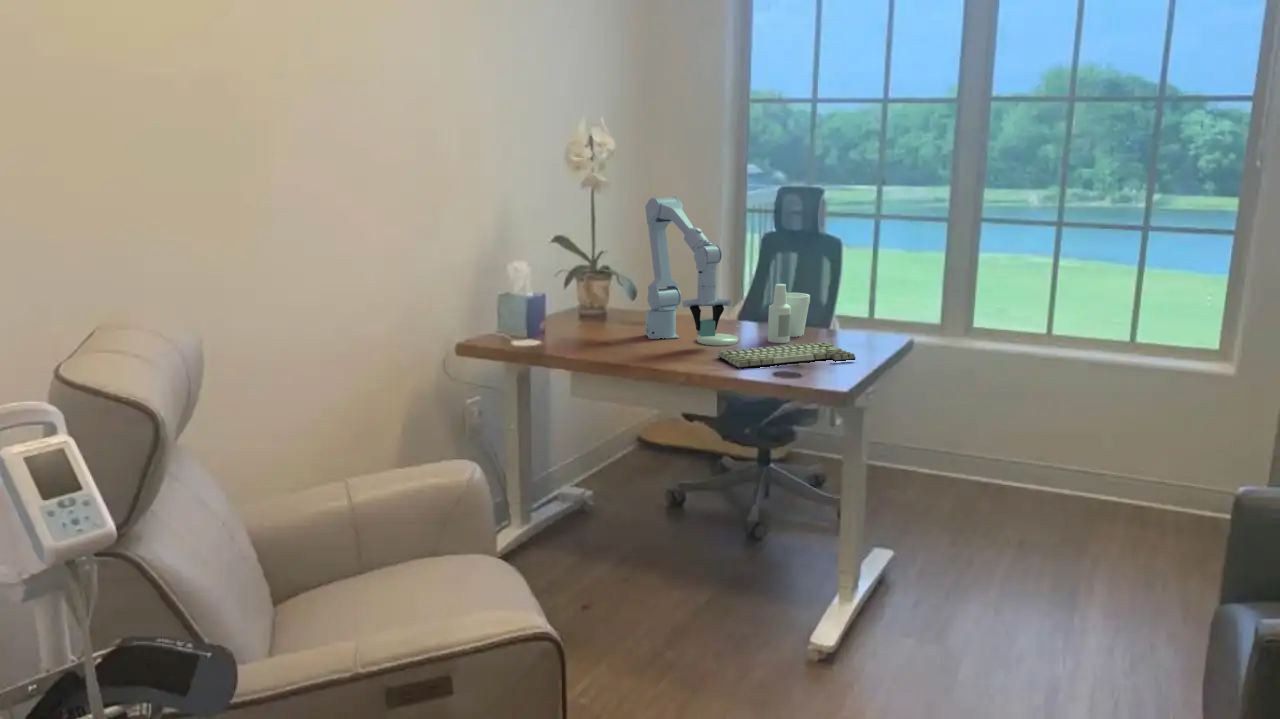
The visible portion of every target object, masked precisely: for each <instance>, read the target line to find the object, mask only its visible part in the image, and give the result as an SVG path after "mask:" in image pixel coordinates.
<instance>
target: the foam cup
mask: <svg viewBox="0 0 1280 719" xmlns="http://www.w3.org/2000/svg"><path fill="white" fill-rule="evenodd" d="M786 298H787V304H788V305H789V306H790V307H791V317H790V338H791V337H793V338H795V337H796V338H797V337H798V336H799V337H803V336H804V334H805V329H806V324H807V323H806V322H807V319H808V318H807V316H808V312H809V305H810V303H811V302H810V301H811V294H808V293H803V292H787V296H786ZM802 335H803V336H802Z"/></svg>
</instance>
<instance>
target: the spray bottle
mask: <svg viewBox="0 0 1280 719" xmlns="http://www.w3.org/2000/svg"><path fill="white" fill-rule="evenodd" d="M786 287H787V284H785V283H776V284H775V285H774V290H773V301H772V302H773V303H772V304H769V306H768V321H767V322H768V323H767V326H768V327H767V341H768V342H769V343H771V344H786V343H789V342H790V341H791V339H790V338H791V336H790V317H791V307H790V306H789V305H788V304H787V298H786V296H787V293H788V291H787V288H786Z"/></svg>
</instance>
